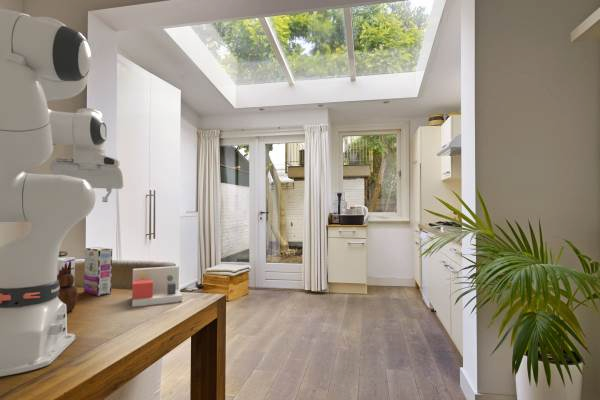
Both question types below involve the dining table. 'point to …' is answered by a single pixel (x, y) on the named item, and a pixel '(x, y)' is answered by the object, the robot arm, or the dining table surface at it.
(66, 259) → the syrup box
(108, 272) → the candy bar box
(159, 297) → the breaker panel
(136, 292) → the cap
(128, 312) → the dining table surface
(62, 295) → the wooden figurine
